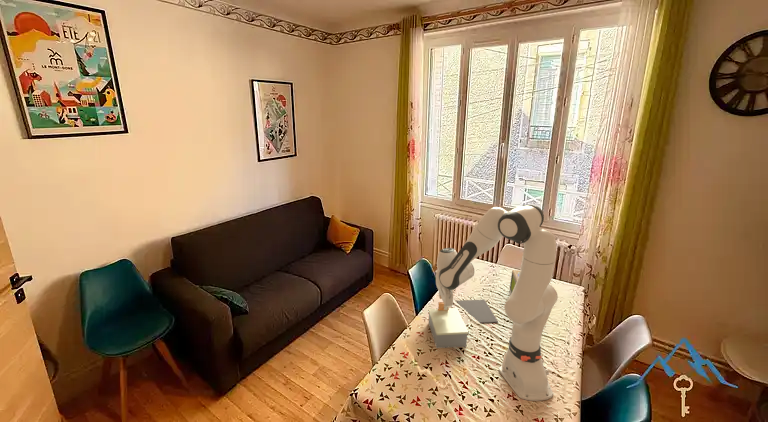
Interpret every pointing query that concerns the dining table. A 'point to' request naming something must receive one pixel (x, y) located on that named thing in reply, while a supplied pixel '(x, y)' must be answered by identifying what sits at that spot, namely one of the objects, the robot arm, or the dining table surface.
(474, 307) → the mat
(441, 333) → the lid
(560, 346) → the dining table surface
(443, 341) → the tub
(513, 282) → the tea box
